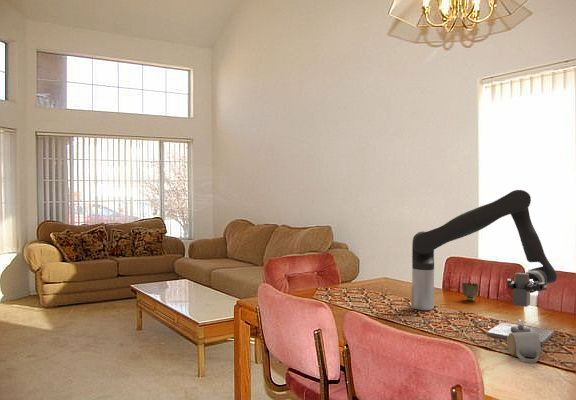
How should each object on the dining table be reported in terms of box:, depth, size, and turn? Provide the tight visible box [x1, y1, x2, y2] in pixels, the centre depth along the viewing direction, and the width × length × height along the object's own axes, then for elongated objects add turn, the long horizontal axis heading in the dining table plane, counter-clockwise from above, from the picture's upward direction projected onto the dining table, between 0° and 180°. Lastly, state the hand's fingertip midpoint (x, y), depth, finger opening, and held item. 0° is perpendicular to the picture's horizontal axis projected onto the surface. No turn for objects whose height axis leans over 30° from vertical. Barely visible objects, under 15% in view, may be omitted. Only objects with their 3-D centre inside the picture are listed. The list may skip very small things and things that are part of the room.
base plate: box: [486, 319, 555, 346], centre depth 183 cm, size 18×18×5 cm
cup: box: [461, 281, 479, 302], centre depth 241 cm, size 8×7×8 cm
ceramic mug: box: [506, 332, 542, 364], centre depth 157 cm, size 11×8×8 cm
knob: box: [512, 272, 531, 308], centre depth 183 cm, size 5×5×11 cm
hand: (519, 287), depth 181 cm, fingers closed on knob, 4 cm apart
